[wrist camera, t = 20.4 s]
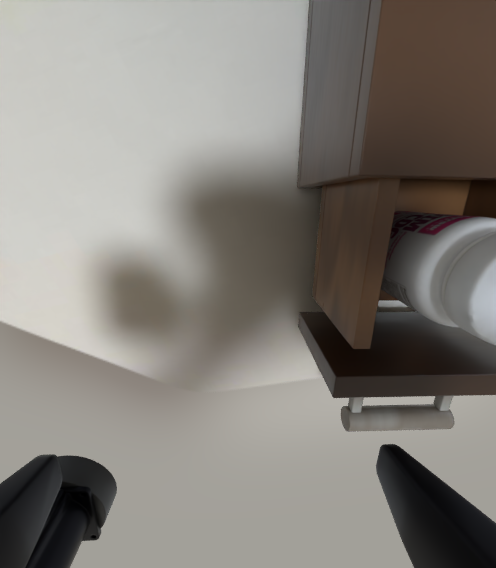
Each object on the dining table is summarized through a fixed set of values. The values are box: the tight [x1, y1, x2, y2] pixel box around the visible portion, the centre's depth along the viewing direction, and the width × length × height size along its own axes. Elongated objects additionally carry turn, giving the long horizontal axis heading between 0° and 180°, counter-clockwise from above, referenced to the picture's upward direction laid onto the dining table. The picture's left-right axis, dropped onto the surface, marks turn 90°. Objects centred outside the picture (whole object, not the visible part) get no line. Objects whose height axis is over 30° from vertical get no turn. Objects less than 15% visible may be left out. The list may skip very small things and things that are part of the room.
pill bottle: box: [381, 211, 496, 345], centre depth 13 cm, size 5×5×8 cm
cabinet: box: [297, 0, 496, 188], centre depth 11 cm, size 14×12×9 cm
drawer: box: [298, 178, 496, 432], centre depth 15 cm, size 17×11×7 cm, turn 179°
